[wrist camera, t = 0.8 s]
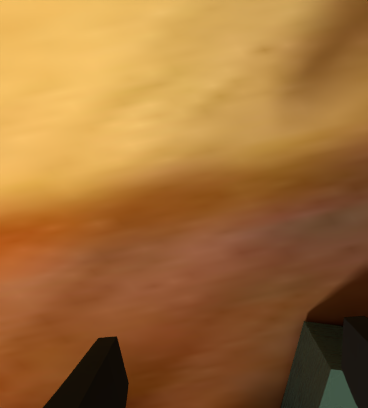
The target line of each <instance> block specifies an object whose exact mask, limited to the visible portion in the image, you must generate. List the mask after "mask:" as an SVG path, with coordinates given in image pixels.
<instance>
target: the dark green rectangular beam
mask: <svg viewBox="0 0 368 408" xmlns="http://www.w3.org/2000/svg"><path fill="white" fill-rule="evenodd" d="M342 342H343V326H337V325H329V324H321V323H313V322H305V321H304V323H303V327H302V331H301V335H300V338H299V342H298V346H297V349H296V353H295V357H294V360H293V364H292V368H291V371H290V375H289V379H288V382H287V386H286V390H285V393H284V397H283V401H282V404H281V408H358V407H357V405H356V403H355V401H354V399H353V396H352V394H351V391H350V389H349V387H348V384H347V382H346V379H345V376H344V374H343V371H342V369H341V361H342Z"/></svg>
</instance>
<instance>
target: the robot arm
mask: <svg viewBox="0 0 368 408" xmlns="http://www.w3.org/2000/svg"><path fill="white" fill-rule="evenodd" d="M341 369H342V371H343V374H344V376H345V379H346V382H347V384H348V387H349V389H350V391H351V394H352V396H353V399H354V401H355V403H356V405H357V407H358V408H368V318H366V317H365V316H357V317H345V318H344V322H343V342H342V361H341ZM128 384H129V383H128V379H127V375H126V371H125V367H124V363H123V359H122V355H121V351H120V347H119V343H118V339H117V336H116V337H104V338H98V339H97V341H96V342H95V343H94V344H93V346H92V347H91V348H90V349H89V351H88V352H87V353H86V355H85V356H84V357H83V358H82V360H81V361H80V362H79V364H78V365H77V366H76V368H75V369H74V370H73V371H72V373H71V374H70V375H69V377H68V378H67V379H66V380H65V381H64V383H63V384H62V385H61V386H60V388H59V389H58V390H57V391H56V393H55V394H54V395H53V396H52V397H51V399H50V400H49V401H48V402H47V403H46V405H45V406H44V407H43V408H126V401H127V392H128Z"/></svg>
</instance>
